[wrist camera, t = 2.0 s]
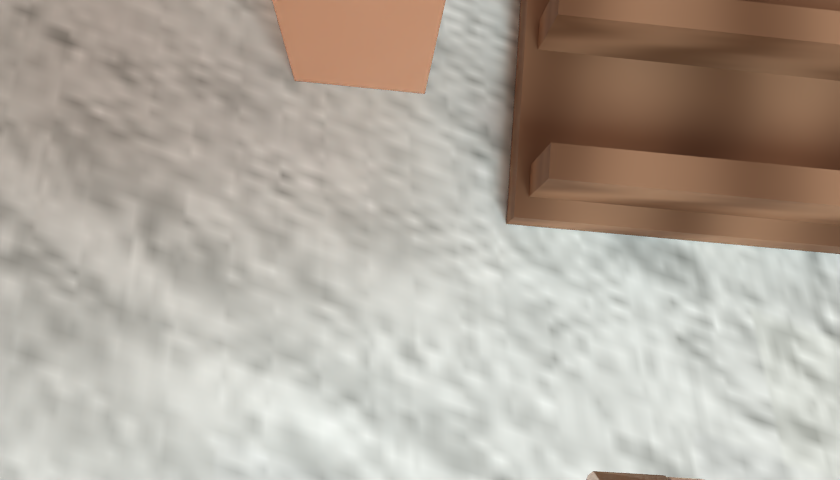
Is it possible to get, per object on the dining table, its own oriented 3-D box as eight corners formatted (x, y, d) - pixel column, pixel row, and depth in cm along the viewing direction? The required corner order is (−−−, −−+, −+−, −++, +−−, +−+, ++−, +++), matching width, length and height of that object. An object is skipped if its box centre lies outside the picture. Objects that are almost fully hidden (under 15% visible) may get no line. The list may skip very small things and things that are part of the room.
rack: (506, 223, 28) (531, 201, 24) (527, -115, 30) (555, -195, 26) (860, 255, 29) (949, 240, 25) (859, -77, 31) (940, -147, 27)
